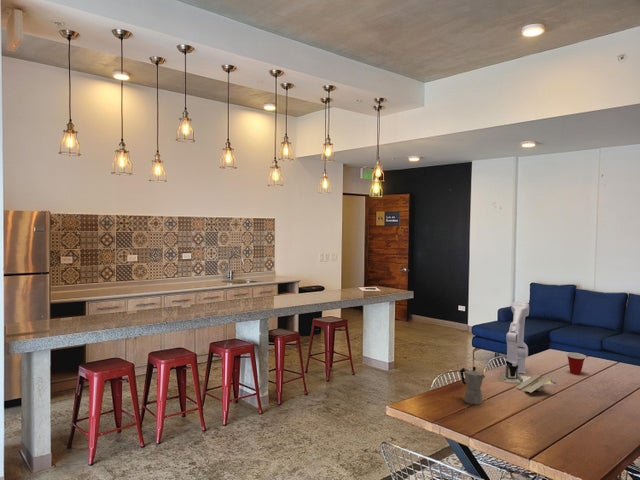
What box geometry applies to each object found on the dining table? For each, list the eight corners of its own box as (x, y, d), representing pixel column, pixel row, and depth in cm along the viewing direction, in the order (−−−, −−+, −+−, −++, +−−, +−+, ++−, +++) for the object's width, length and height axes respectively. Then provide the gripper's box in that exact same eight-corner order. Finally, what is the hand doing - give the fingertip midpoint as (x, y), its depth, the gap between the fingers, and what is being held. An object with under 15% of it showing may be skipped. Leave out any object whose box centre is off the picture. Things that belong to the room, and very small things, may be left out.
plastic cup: (567, 375, 299) (568, 355, 298) (564, 370, 309) (564, 351, 309) (587, 377, 296) (587, 357, 295) (583, 372, 306) (583, 353, 306)
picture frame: (505, 376, 289) (505, 365, 289) (516, 377, 288) (516, 366, 288) (506, 378, 285) (507, 366, 285) (517, 379, 284) (517, 367, 284)
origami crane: (541, 404, 257) (559, 385, 260) (530, 392, 257) (549, 373, 260) (524, 398, 273) (541, 380, 276) (514, 387, 273) (531, 369, 276)
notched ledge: (500, 376, 294) (500, 372, 294) (550, 379, 288) (550, 375, 288) (504, 382, 282) (504, 377, 282) (556, 386, 277) (556, 381, 276)
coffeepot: (489, 403, 246) (490, 368, 246) (477, 407, 241) (478, 371, 240) (465, 394, 259) (466, 361, 258) (453, 397, 254) (454, 364, 253)
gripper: (502, 348, 294) (502, 370, 295) (507, 354, 280) (506, 378, 280) (515, 349, 293) (514, 371, 293) (520, 355, 279) (519, 379, 279)
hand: (511, 374), depth 287 cm, fingers open, 5 cm apart
